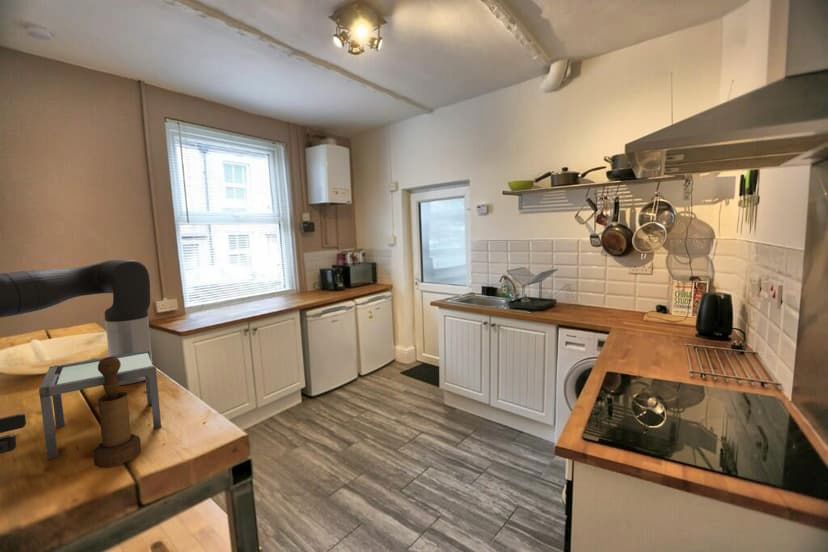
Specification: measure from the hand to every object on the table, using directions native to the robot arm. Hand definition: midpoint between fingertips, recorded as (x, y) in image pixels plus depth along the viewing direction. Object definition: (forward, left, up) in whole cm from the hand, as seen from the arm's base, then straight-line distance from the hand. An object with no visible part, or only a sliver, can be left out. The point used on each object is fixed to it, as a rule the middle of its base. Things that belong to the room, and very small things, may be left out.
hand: (20, 430), depth 55 cm
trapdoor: (-15, +11, +3) cm, 19 cm away
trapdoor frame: (-15, +11, -9) cm, 20 cm away
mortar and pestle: (0, +11, -9) cm, 14 cm away
